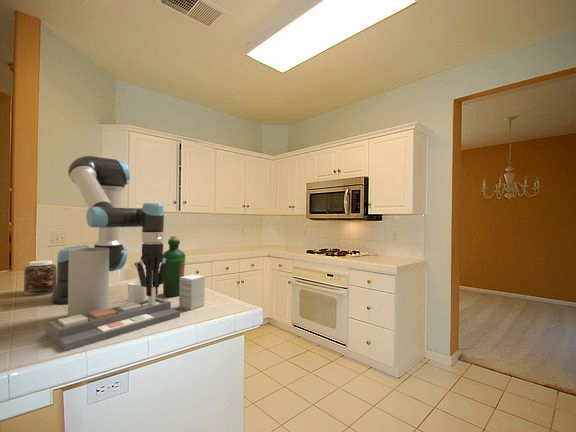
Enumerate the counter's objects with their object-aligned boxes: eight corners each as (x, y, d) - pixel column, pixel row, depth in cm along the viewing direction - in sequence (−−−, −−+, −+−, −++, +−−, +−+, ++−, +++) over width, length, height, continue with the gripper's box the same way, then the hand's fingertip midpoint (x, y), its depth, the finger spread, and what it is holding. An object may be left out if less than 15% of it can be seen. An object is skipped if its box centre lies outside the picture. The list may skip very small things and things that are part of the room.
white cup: (139, 310, 115) (140, 285, 115) (122, 308, 117) (123, 284, 117) (152, 304, 123) (153, 281, 123) (136, 303, 125) (137, 279, 125)
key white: (58, 324, 90) (58, 319, 90) (80, 319, 95) (80, 314, 95) (64, 329, 87) (64, 323, 87) (87, 323, 91) (87, 318, 91)
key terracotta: (89, 316, 97) (89, 312, 97) (108, 312, 102) (108, 307, 102) (96, 321, 93) (96, 316, 93) (116, 316, 98) (116, 311, 98)
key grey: (116, 310, 104) (116, 306, 104) (133, 306, 109) (133, 302, 109) (124, 314, 100) (124, 309, 100) (141, 309, 105) (141, 305, 105)
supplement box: (192, 302, 126) (193, 274, 126) (204, 305, 123) (205, 276, 123) (178, 307, 120) (179, 277, 120) (191, 310, 116) (191, 279, 116)
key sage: (140, 308, 111) (140, 304, 111) (155, 305, 116) (155, 301, 116) (148, 312, 107) (148, 307, 107) (163, 308, 112) (163, 304, 112)
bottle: (189, 294, 140) (190, 236, 140) (170, 299, 131) (171, 237, 131) (175, 290, 146) (176, 235, 146) (156, 295, 137) (157, 236, 137)
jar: (51, 288, 146) (52, 258, 146) (59, 292, 139) (60, 261, 139) (20, 293, 137) (21, 261, 137) (27, 297, 130) (28, 264, 130)
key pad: (45, 334, 91) (46, 320, 91) (154, 307, 120) (154, 296, 120) (65, 351, 80) (65, 335, 80) (179, 316, 109) (179, 305, 109)
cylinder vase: (101, 308, 117) (102, 246, 117) (113, 315, 109) (114, 249, 109) (63, 316, 107) (64, 249, 107) (73, 324, 99) (74, 252, 99)
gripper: (140, 244, 104) (139, 310, 104) (173, 242, 114) (172, 301, 114) (130, 243, 108) (129, 306, 108) (163, 241, 119) (162, 298, 119)
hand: (151, 303), depth 111 cm, fingers closed
